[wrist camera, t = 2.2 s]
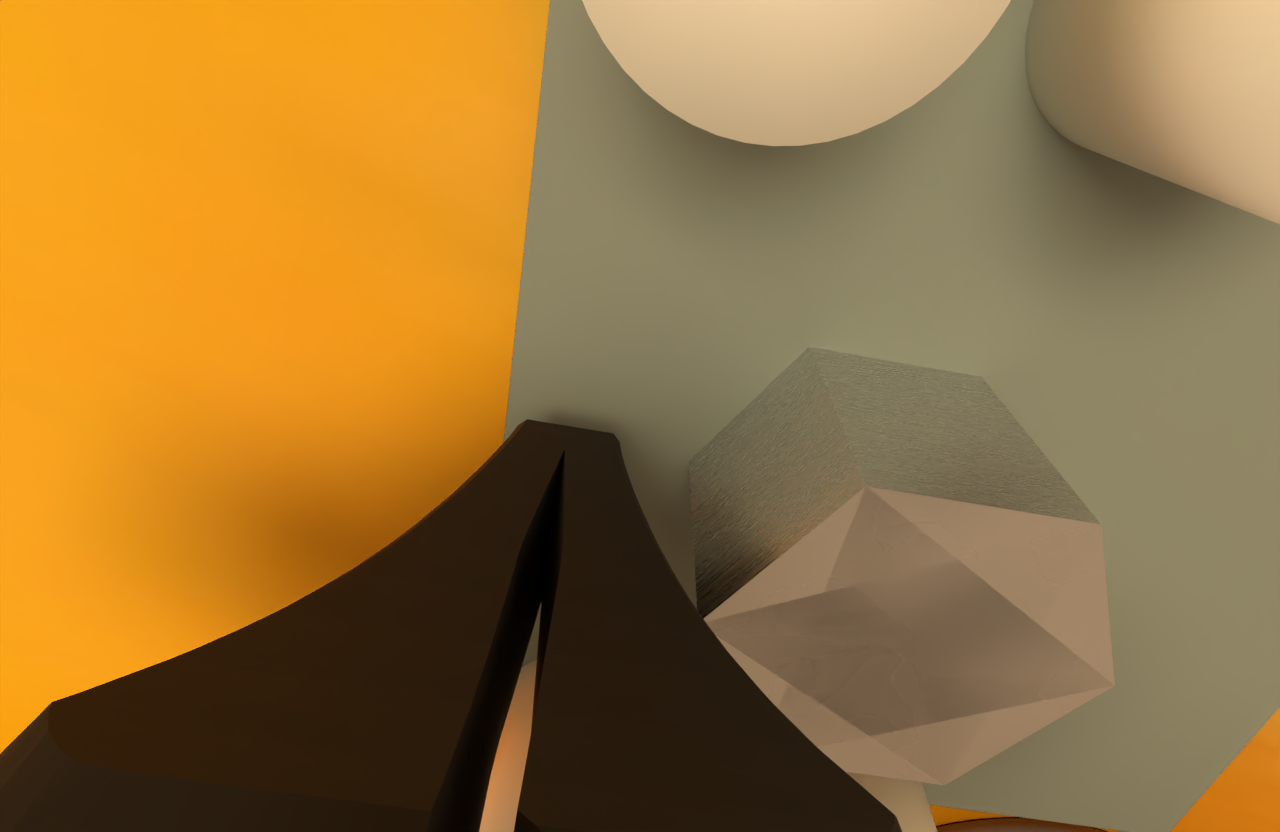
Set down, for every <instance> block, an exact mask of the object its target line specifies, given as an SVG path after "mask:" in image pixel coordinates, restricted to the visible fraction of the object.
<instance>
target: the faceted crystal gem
mask: <svg viewBox="0 0 1280 832" xmlns="http://www.w3.org/2000/svg"><path fill="white" fill-rule="evenodd" d="M689 479H690V496H691V513H692V531H693V548H694V566H695V583H696V601H697V610H698V612H699V613H700V614H701V616H702V617H703V619H704V620H705V622H706V623H707V625H708V626H709V627H710V629H711V630H712V631H713V633H714V634H715V635H716V637H717V638H718V639H719V641H720V642H721V643H722V645H723V646H724V647H725V649H726V650H727V651H728V652H729V654H730V655H731V656H732V657H733V658H734V659H735V661H736V662H737V663H738V664H739V665H740V666H741V668H742V669H743V670H744V671H745V672H746V673H747V674H748V676H749V677H750V678H751V679H752V680H753V681H754V683H755V684H756V685H757V686H758V687H759V688H760V690H761V691H762V692H763V693H764V694H765V695H766V696H767V697H768V699H769V700H770V701H771V702H772V703H773V704H774V705H775V706H776V707H777V708H778V709H779V710H780V711H781V712H782V713H783V714H784V715H785V716H786V717H787V718H788V719H789V720H790V721H791V722H792V723H793V724H794V725H795V726H796V727H797V728H798V729H799V730H800V731H801V732H802V733H803V734H804V735H805V736H806V737H807V738H808V739H809V740H810V741H811V742H812V743H813V744H814V745H815V746H816V747H817V748H819V749H820V750H821V751H822V752H823V753H824V754H825V755H826V756H828V757H829V758H830V759H831V760H832V761H833V762H835V763H836V764H837V765H838V766H839V767H840V768H841V769H843V770H844V771H845V772H852V773H859V774H866V775H874V776H881V777H888V778H895V779H903V780H910V781H917V782H924V783H932V784H939V785H946V784H947V783H949V782H951V781H953V780H954V779H956V778H958V777H959V776H961V775H963V774H965V773H966V772H968V771H970V770H971V769H973V768H975V767H977V766H978V765H980V764H982V763H983V762H985V761H987V760H989V759H990V758H992V757H994V756H995V755H997V754H999V753H1001V752H1002V751H1004V750H1006V749H1007V748H1009V747H1011V746H1012V745H1014V744H1016V743H1018V742H1019V741H1021V740H1023V739H1024V738H1026V737H1028V736H1030V735H1031V734H1033V733H1035V732H1036V731H1038V730H1040V729H1042V728H1043V727H1045V726H1047V725H1048V724H1050V723H1052V722H1054V721H1055V720H1057V719H1059V718H1060V717H1062V716H1064V715H1066V714H1067V713H1069V712H1071V711H1072V710H1074V709H1076V708H1078V707H1079V706H1081V705H1083V704H1084V703H1086V702H1088V701H1090V700H1091V699H1093V698H1095V697H1096V696H1098V695H1100V694H1101V693H1103V692H1105V691H1107V690H1108V689H1110V688H1112V687H1113V686H1115V681H1114V669H1113V657H1112V645H1111V633H1110V621H1109V609H1108V597H1107V586H1106V574H1105V562H1104V550H1103V538H1102V526H1101V523H1100V522H1099V521H1098V520H1097V519H1096V517H1095V516H1094V515H1093V514H1092V512H1091V511H1090V510H1089V509H1088V507H1087V506H1086V505H1085V504H1084V503H1083V501H1082V500H1081V499H1080V498H1079V496H1078V495H1077V494H1076V493H1075V491H1074V490H1073V489H1072V488H1071V487H1070V485H1069V484H1068V483H1067V482H1066V480H1065V479H1064V478H1063V477H1062V475H1061V474H1060V473H1059V472H1058V471H1057V469H1056V468H1055V467H1054V466H1053V464H1052V463H1051V462H1050V461H1049V459H1048V458H1047V457H1046V456H1045V454H1044V453H1043V452H1042V451H1041V450H1040V448H1039V447H1038V446H1037V445H1036V443H1035V442H1034V441H1033V440H1032V438H1031V437H1030V436H1029V435H1028V434H1027V432H1026V431H1025V430H1024V429H1023V427H1022V426H1021V425H1020V424H1019V422H1018V421H1017V420H1016V419H1015V418H1014V416H1013V415H1012V414H1011V413H1010V411H1009V410H1008V409H1007V408H1006V406H1005V405H1004V404H1003V403H1002V402H1001V400H1000V399H999V398H998V397H997V395H996V394H995V393H994V392H993V390H992V389H991V388H990V387H989V386H988V384H987V383H986V382H985V381H984V379H983V378H982V377H980V376H974V375H968V374H963V373H957V372H951V371H946V370H940V369H934V368H928V367H923V366H917V365H911V364H906V363H900V362H894V361H889V360H883V359H877V358H871V357H866V356H860V355H854V354H849V353H843V352H837V351H832V350H826V349H820V348H814V347H808V348H807V349H806V350H805V351H804V352H803V353H802V354H801V355H800V356H799V357H798V358H797V359H796V360H794V361H793V362H792V363H791V364H790V365H789V366H788V367H787V368H786V369H785V370H784V371H783V372H782V373H781V374H780V375H779V376H778V377H777V378H776V379H774V380H773V381H772V382H771V383H770V384H769V385H768V386H767V387H766V388H765V389H764V390H763V391H762V392H761V393H760V394H759V395H758V396H757V397H755V398H754V399H753V400H752V401H751V402H750V403H749V404H748V405H747V406H746V407H745V408H744V409H743V410H742V411H741V412H740V413H739V414H738V415H736V416H735V417H734V418H733V419H732V420H731V421H730V422H729V423H728V424H727V425H726V426H725V427H724V428H723V429H722V430H721V431H720V432H719V433H717V434H716V435H715V436H714V437H713V438H712V439H711V440H710V441H709V442H708V443H707V444H706V445H705V446H704V447H703V448H702V449H701V450H700V451H699V452H697V453H696V454H695V455H694V456H693V457H692V458H691V459H690V460H689Z"/></svg>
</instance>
